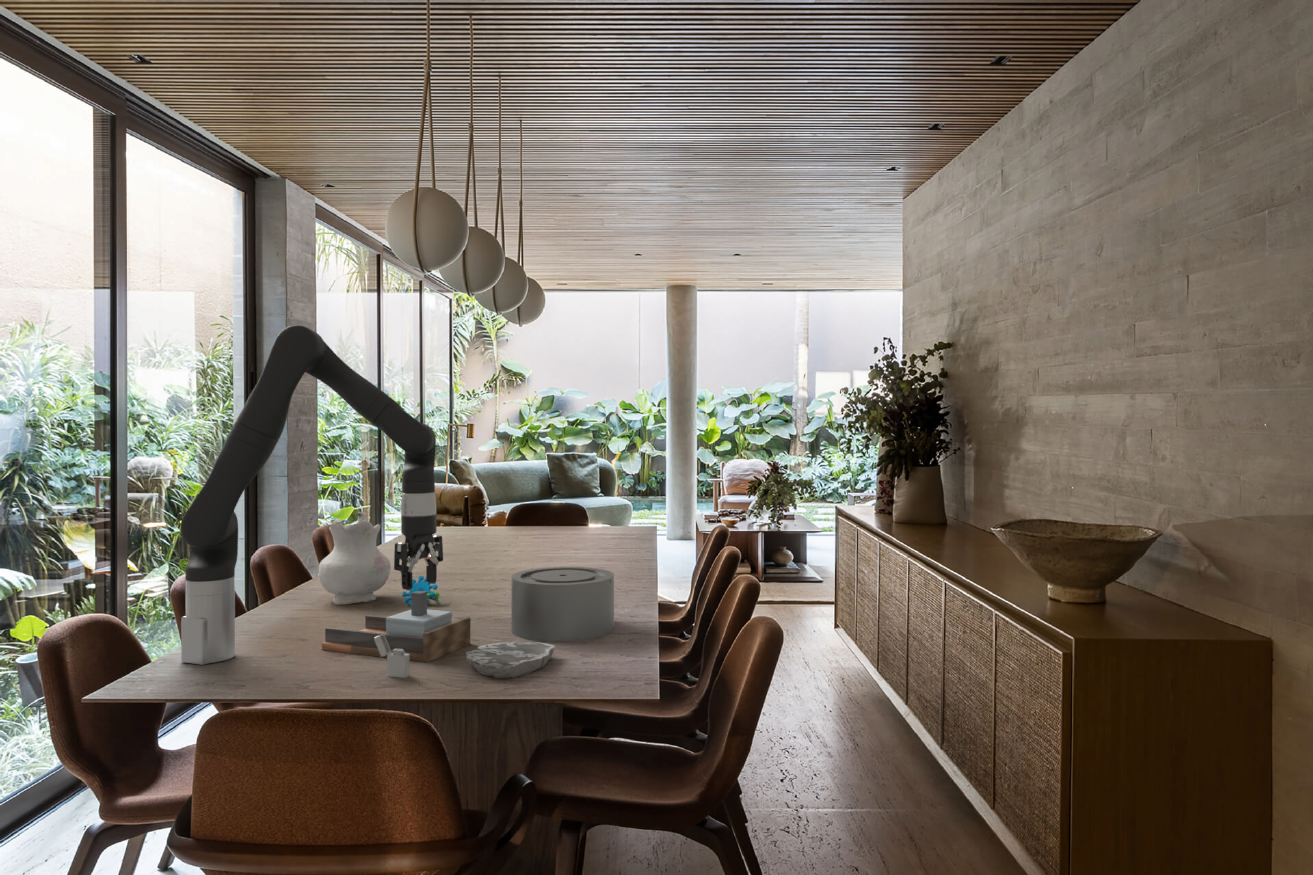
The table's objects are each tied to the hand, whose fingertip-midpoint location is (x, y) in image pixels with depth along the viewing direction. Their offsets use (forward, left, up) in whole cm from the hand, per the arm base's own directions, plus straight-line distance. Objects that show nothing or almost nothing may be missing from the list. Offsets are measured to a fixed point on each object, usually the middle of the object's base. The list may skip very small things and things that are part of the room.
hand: (419, 585), depth 181 cm
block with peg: (0, 0, -12) cm, 12 cm away
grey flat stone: (-4, -25, -15) cm, 29 cm away
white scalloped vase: (+38, +51, -14) cm, 65 cm away
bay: (0, +6, -14) cm, 15 cm away
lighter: (-18, -7, -14) cm, 24 cm away
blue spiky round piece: (+39, +29, -15) cm, 51 cm away
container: (+28, -21, -15) cm, 38 cm away
